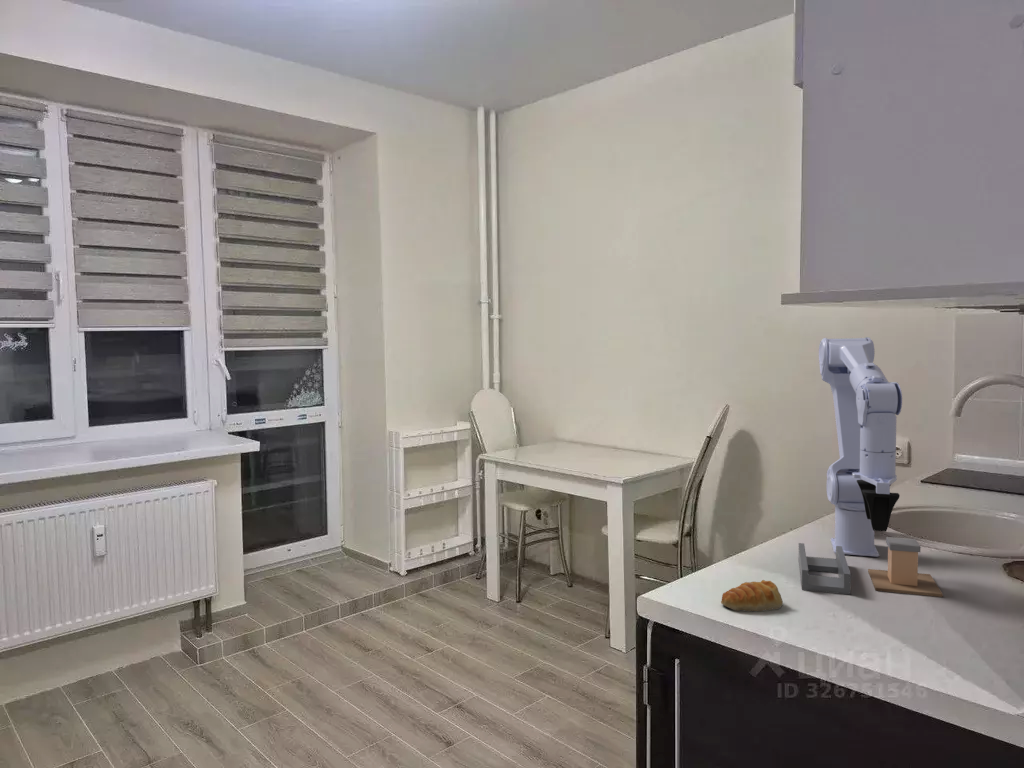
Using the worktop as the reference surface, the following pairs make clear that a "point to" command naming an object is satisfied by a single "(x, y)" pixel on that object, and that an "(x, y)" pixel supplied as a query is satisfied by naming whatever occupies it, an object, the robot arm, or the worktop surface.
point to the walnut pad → (923, 585)
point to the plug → (903, 560)
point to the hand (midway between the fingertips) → (876, 524)
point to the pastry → (753, 597)
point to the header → (825, 565)
